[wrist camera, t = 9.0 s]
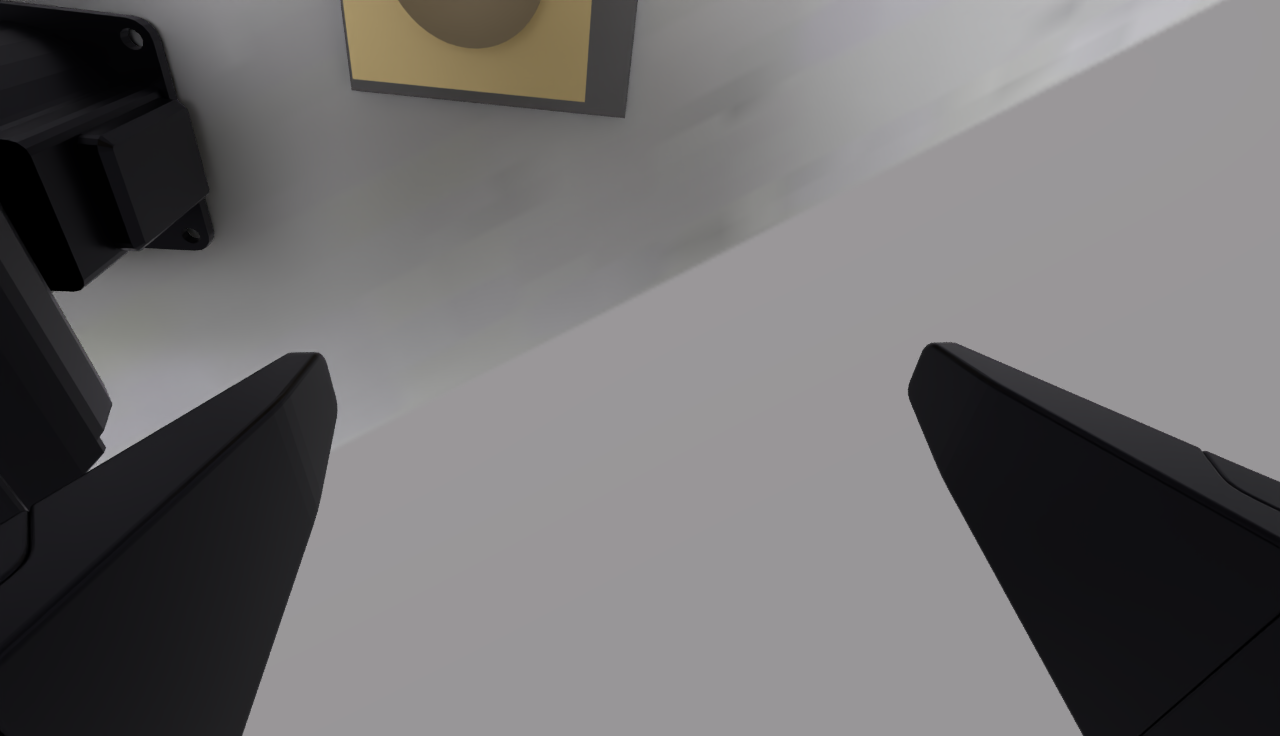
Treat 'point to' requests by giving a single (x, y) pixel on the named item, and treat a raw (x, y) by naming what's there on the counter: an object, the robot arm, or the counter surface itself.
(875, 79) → the counter surface
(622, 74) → the pad
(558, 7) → the plug
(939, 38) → the counter surface
